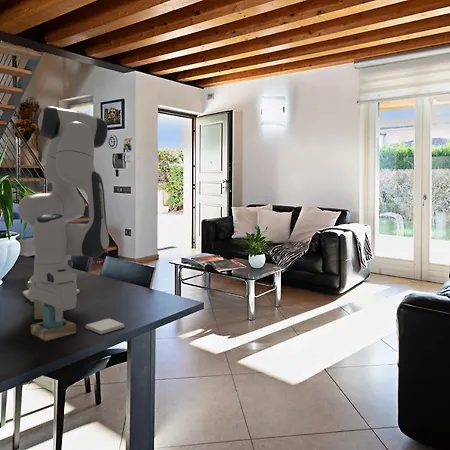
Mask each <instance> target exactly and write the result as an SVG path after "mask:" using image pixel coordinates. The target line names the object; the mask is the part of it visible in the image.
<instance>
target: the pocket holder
mask: <svg viewBox="0 0 450 450" xmlns="http://www.w3.org/2000/svg"><path fill="white" fill-rule="evenodd" d="M76 333H77V324H76V323H74V322H71V321H69V320H67V319H65V318H63V326H60V327H56V328H52V329H46V328H44V327H43V321H41V322H36V323H32V324H30V334H31V335H33V336H36V338H39V339H41V340H43V341H44V342H48V341H50V340H51V341H52V340H55V339H58V338H62V337H66V336H70V335H73V334H76Z"/></svg>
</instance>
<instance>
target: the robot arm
mask: <svg viewBox="0 0 450 450" xmlns="http://www.w3.org/2000/svg"><path fill="white" fill-rule="evenodd" d="M37 127H38V129H39V134H40V135H41V136H43V137H44V138H46V139H49V140H50V142H49V146H48V149H47V153H46V157H45V158H46V159H45V162H44V169H43V177H44V178H45V179H46V180H47V181H48V182H49V184H51V187H52V191H51V192H50V193H49V192H46V193H43V192H42V193H34V194H33V193H32V194H29V195H25V196H24V197H22V198H21V199H20V202H19V203H18V208H17V209H18V210H17V211H18V215H19V217H20V219H21V220H22V221H23V222H25V224H27V225H28V226H30V228H31V229H32V231H33V234H32V236H33V237H32V238H33V239H32V244H33V249H34V252H35V253H34V258H33V259H34V260H33V265H34V266H33V268H34V270H33V274H32V275H31V277H29V279H28V281H27V282H26V287H27V288H28V289H26V290H23V291H22V295H23V296H24V297H25V298H26V299H28V300H29V301H30V302H31V303H34V299H36V300H38V301H41V302H42V306H45V305H51V306H53V307H55V310H56V312H55V315H53V318H54V321H56V322H60V321H62V314H63V315H64V311H69V310H73V309H75V308H76V306H77V300H78V297H77V295H78V294H80V289H78V286H77V285H78V284H77V279H78V273H77V272H76V271H74V269H73V258H71V257H72V256H75V257H79V256H80V257H87V258H94V259H97V258H99V257H101V256H102V255H103V254H104V253H105V252H106V251H107V250H108V248H109V246H110V235H109V229H108V225H107V214H106V202H105V201H106V199H105V190H104V183H103V178H102V176H101V174H100V173H99V172H97V171H96V169H95V165H94V159H95V149H97V148H101V147H102V146H104V144H105V142H106V141H107V138H108V135H109V134H108V124H107V121H105V120H104V119H103V118H100V117H98V116H93V115H90V114H87V113H85V112H82V111H78V110H73V109H72V110H71V109H66V108H59V107H57V106H45V107H44V108H43V109H42V111H41V112H40V114H39V115H38V119H37ZM77 188H78V189H80V190H82V191H84V192H85V193H86V195H87V205H88V219H89V220H88V222H87V223H69V222H71V221H74V220H77V219H79V218H81V217H83V215H84V214H85V210H86V204H85V201H84V199H83V197H82V196H81V195H80V194H79V192H78V189H77Z"/></svg>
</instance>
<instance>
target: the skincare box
mask: <svg viewBox="0 0 450 450" xmlns="http://www.w3.org/2000/svg"><path fill="white" fill-rule="evenodd" d="M33 303H34V305H33V308H34V313H33V314H34V320H43V307H42V302H41V301H38V300H36V299H34V302H33Z"/></svg>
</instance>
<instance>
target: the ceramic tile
mask: <svg viewBox="0 0 450 450" xmlns="http://www.w3.org/2000/svg"><path fill="white" fill-rule="evenodd" d="M123 328H125V324H124V323H122V322H121V321H117V320H114V319H112V318H104V319H101V320H99V321H94V322H91V323H87V324H85V329H87V330H89V331H92V332H95V333H97V334H99V335H103V334H107V333H109V332H113V331H117V330H121V329H123Z"/></svg>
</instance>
